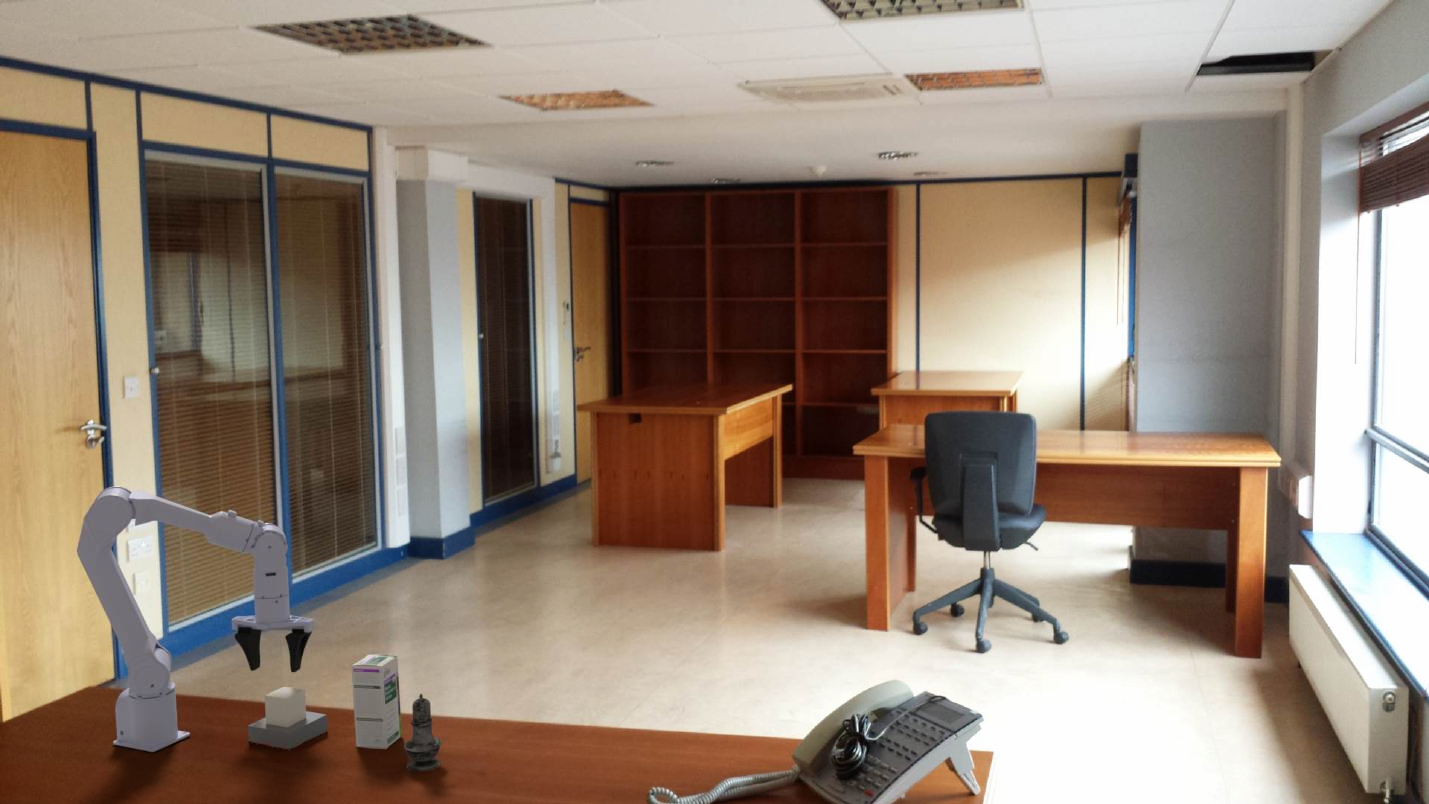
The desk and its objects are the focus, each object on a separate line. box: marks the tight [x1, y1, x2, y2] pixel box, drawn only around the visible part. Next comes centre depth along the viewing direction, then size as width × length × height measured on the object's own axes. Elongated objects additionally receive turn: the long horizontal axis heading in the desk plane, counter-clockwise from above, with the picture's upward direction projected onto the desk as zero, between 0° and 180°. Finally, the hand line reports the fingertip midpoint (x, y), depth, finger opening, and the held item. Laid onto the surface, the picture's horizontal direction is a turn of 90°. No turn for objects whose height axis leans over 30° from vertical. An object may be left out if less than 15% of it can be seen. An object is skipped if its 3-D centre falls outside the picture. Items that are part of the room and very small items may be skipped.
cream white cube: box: [264, 686, 307, 727], centre depth 203 cm, size 5×5×5 cm
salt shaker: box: [403, 693, 442, 773], centre depth 191 cm, size 6×6×12 cm
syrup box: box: [350, 653, 403, 750], centre depth 200 cm, size 6×6×14 cm
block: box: [247, 710, 328, 749], centre depth 204 cm, size 9×9×3 cm
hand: (275, 669), depth 209 cm, fingers open, 7 cm apart
